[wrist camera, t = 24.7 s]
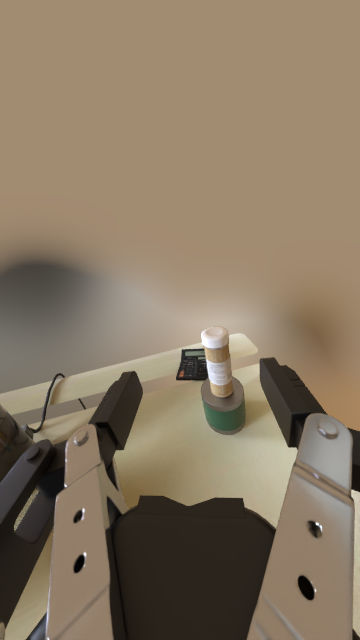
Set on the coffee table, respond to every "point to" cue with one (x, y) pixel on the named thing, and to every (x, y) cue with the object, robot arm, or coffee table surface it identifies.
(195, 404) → the coffee table surface
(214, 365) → the spice jar
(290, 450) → the coffee table surface
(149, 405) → the coffee table surface
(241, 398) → the tin can
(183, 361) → the calculator
